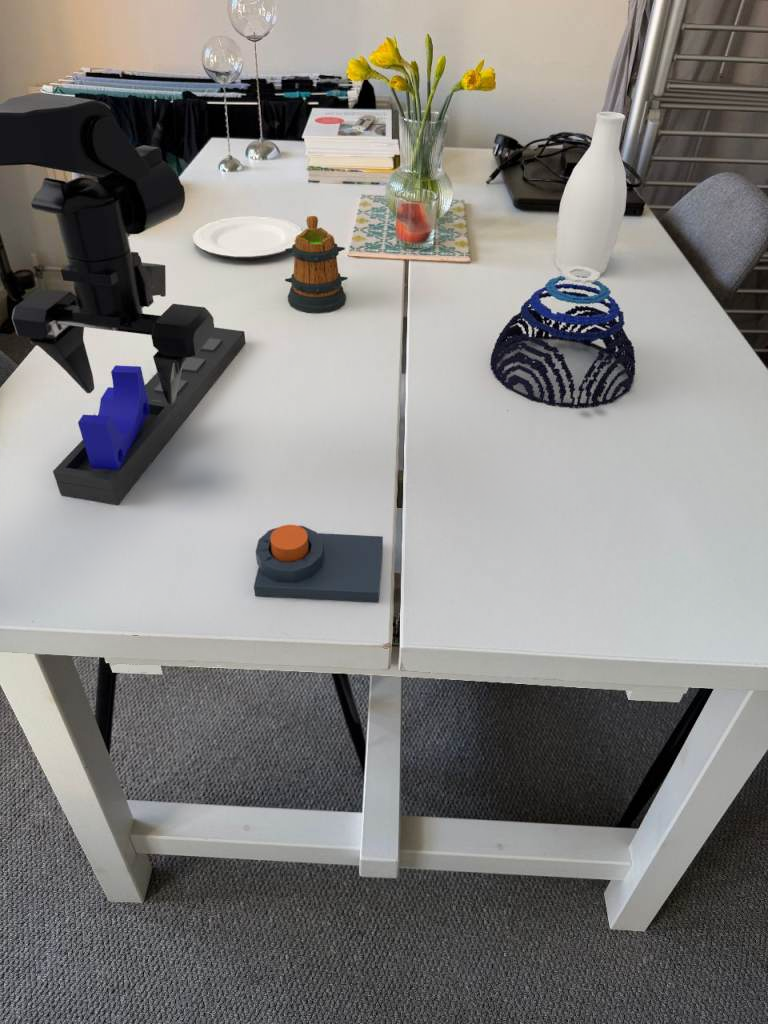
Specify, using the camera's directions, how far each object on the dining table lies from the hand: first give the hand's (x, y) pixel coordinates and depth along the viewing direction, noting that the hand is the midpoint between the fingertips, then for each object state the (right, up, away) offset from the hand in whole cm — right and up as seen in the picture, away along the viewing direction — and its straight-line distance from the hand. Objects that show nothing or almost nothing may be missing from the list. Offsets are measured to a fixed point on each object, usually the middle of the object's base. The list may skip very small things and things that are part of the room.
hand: (131, 396), depth 77 cm
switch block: (+21, -18, -4) cm, 28 cm away
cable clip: (-4, -4, +7) cm, 9 cm away
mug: (+16, +24, +45) cm, 53 cm away
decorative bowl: (+52, +8, +29) cm, 60 cm away
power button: (+18, -16, -5) cm, 24 cm away
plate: (+1, +39, +62) cm, 73 cm away
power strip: (-2, +1, +18) cm, 18 cm away
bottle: (+63, +33, +57) cm, 91 cm away
